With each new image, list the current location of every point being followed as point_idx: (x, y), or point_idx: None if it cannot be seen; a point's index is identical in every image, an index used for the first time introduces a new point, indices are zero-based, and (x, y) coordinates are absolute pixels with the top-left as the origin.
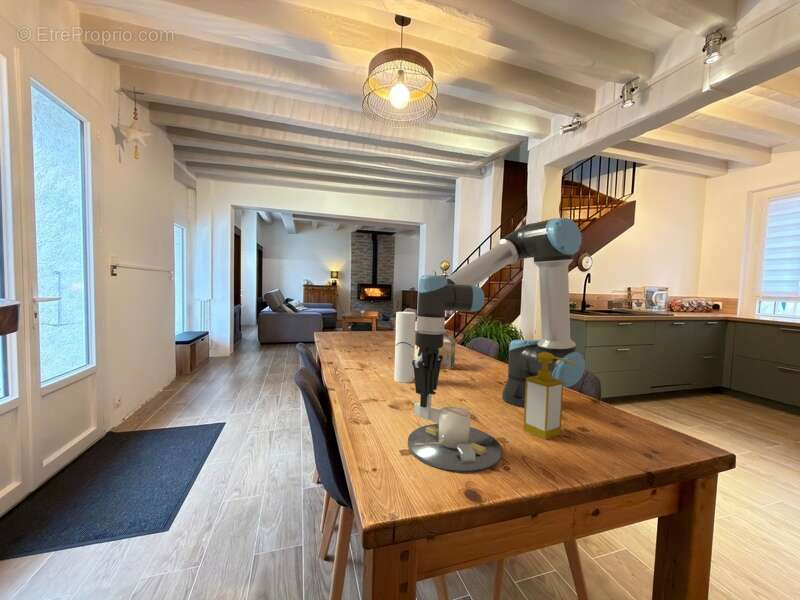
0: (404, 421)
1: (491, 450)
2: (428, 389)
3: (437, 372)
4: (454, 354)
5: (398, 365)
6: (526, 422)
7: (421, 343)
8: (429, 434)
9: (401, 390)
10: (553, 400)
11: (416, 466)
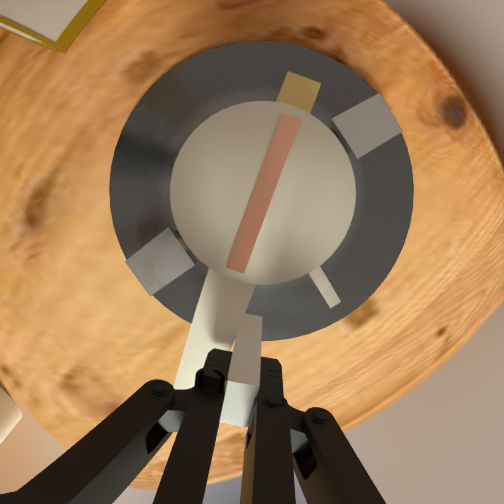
0: (174, 378)
1: (257, 65)
2: (267, 422)
3: (97, 471)
4: None
5: (3, 432)
6: (55, 39)
7: None
8: None
9: (39, 405)
10: None
11: (415, 258)
